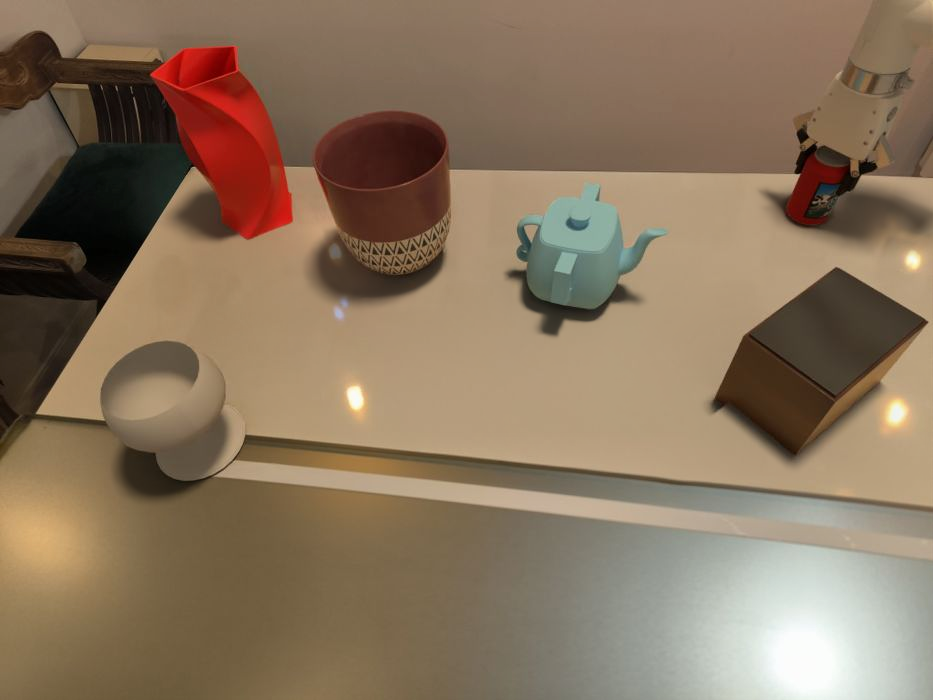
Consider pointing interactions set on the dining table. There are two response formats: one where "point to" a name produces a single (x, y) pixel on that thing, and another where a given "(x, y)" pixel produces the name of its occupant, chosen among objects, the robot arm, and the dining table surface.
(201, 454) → the chalice
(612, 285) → the teapot
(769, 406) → the riser
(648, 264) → the dining table surface
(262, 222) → the vase
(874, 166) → the robot arm
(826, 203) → the beverage can
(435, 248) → the planter
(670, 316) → the dining table surface
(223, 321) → the dining table surface
